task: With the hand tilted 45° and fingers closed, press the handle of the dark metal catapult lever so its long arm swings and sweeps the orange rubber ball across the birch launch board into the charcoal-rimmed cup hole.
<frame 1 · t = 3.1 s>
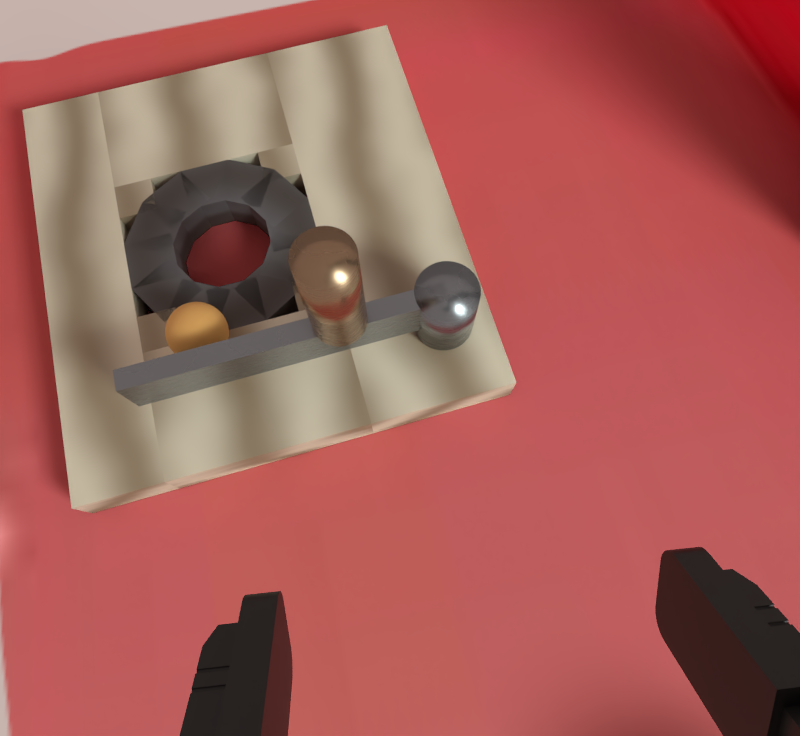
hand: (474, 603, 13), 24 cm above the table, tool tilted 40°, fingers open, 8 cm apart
catapult lever: (297, 320, 33), point 8 cm above the table, hinge at 0.0°
launch board: (258, 254, 43), on the table
ball: (197, 332, 37), point 4 cm above the table, touching launch board
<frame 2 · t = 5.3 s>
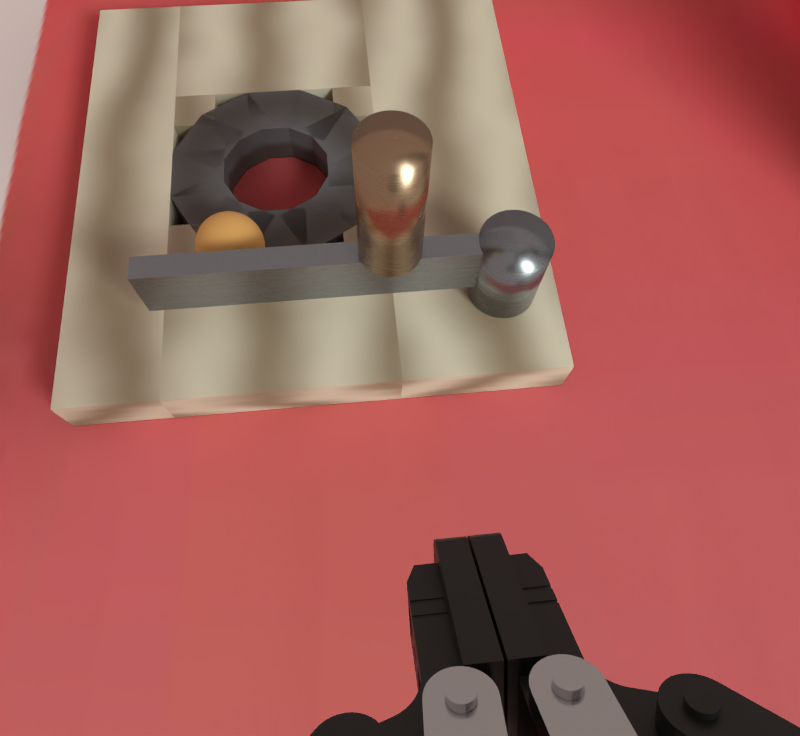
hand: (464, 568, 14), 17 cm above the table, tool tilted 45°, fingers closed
catapult lever: (343, 236, 29), point 8 cm above the table, hinge at 0.0°
launch board: (311, 193, 40), on the table
ball: (230, 245, 33), point 4 cm above the table, touching launch board
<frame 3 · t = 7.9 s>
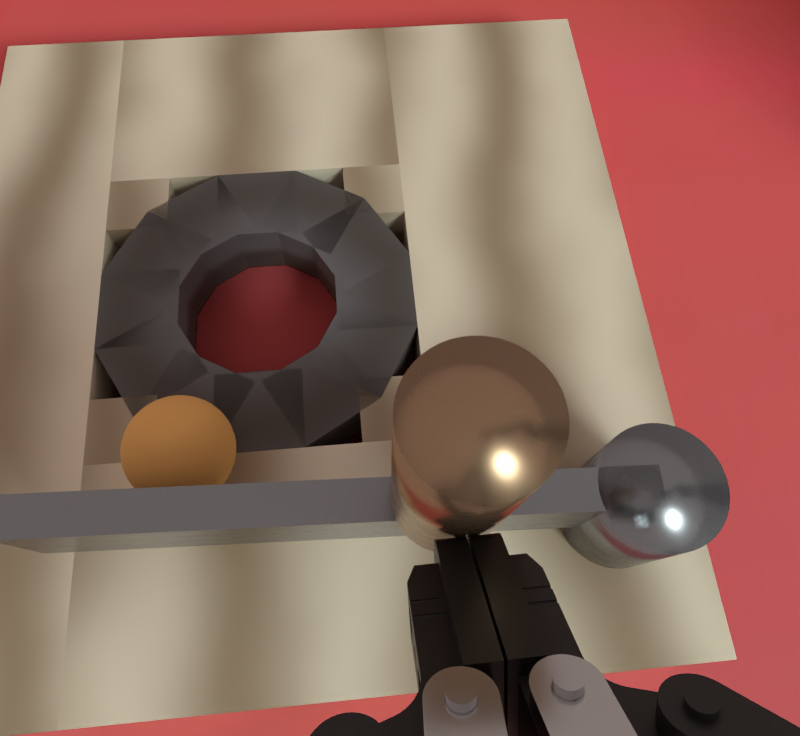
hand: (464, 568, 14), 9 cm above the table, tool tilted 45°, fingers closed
catapult lever: (366, 489, 16), point 8 cm above the table, hinge at 2.4°, touching gripper
launch board: (311, 324, 27), on the table
ball: (179, 449, 20), point 4 cm above the table, tilted 7°, touching launch board
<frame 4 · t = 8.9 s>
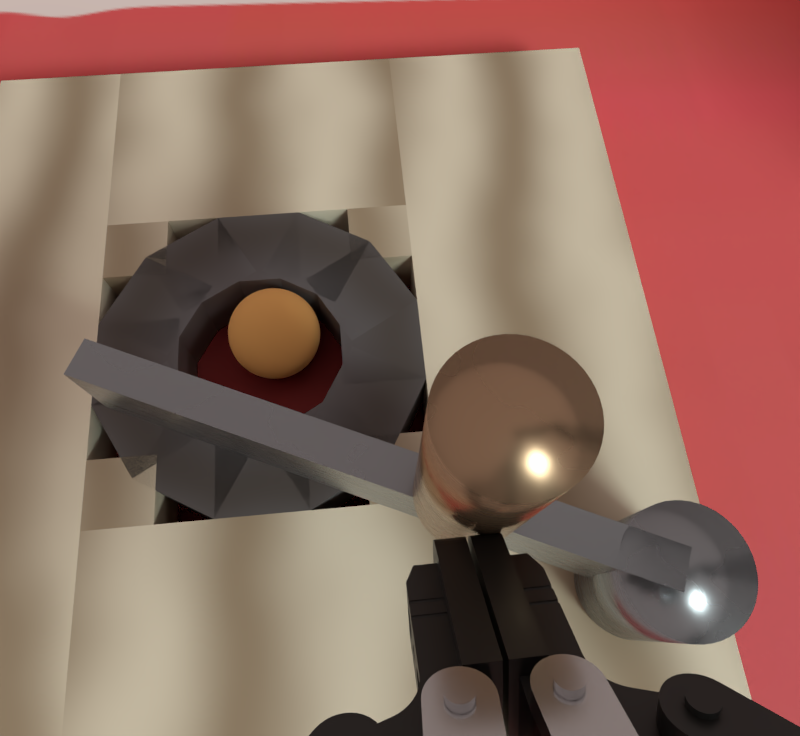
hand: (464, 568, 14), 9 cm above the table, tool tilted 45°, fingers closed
catapult lever: (395, 456, 16), point 8 cm above the table, hinge at 24.6°, touching gripper
launch board: (316, 371, 26), on the table
ball: (274, 333, 25), point 2 cm above the table, tilted 55°
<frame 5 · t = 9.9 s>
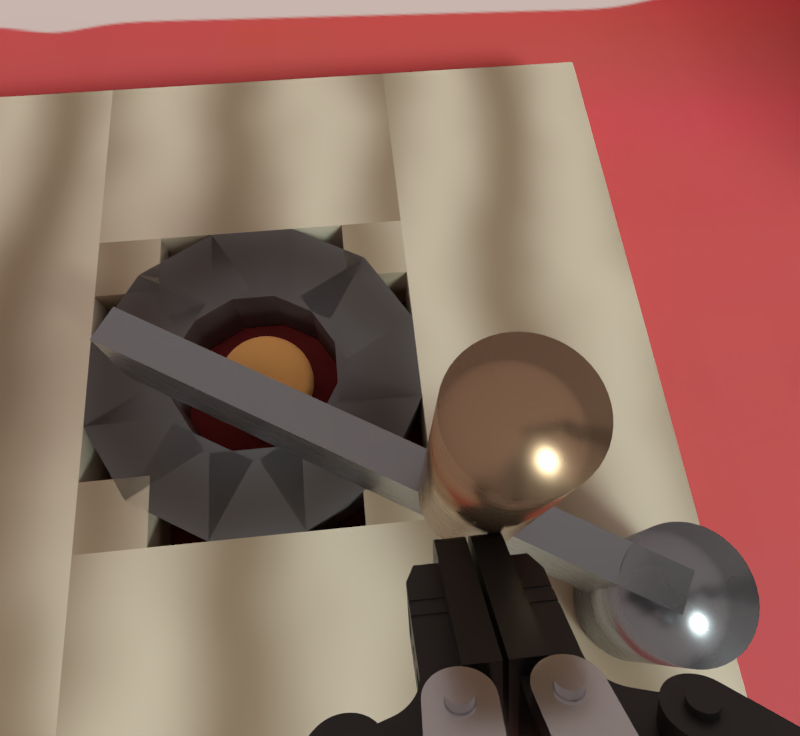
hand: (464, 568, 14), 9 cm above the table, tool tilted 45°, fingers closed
catapult lever: (404, 448, 16), point 8 cm above the table, hinge at 30.8°, touching gripper
launch board: (311, 389, 26), on the table
ball: (267, 382, 24), point 2 cm above the table, tilted 83°
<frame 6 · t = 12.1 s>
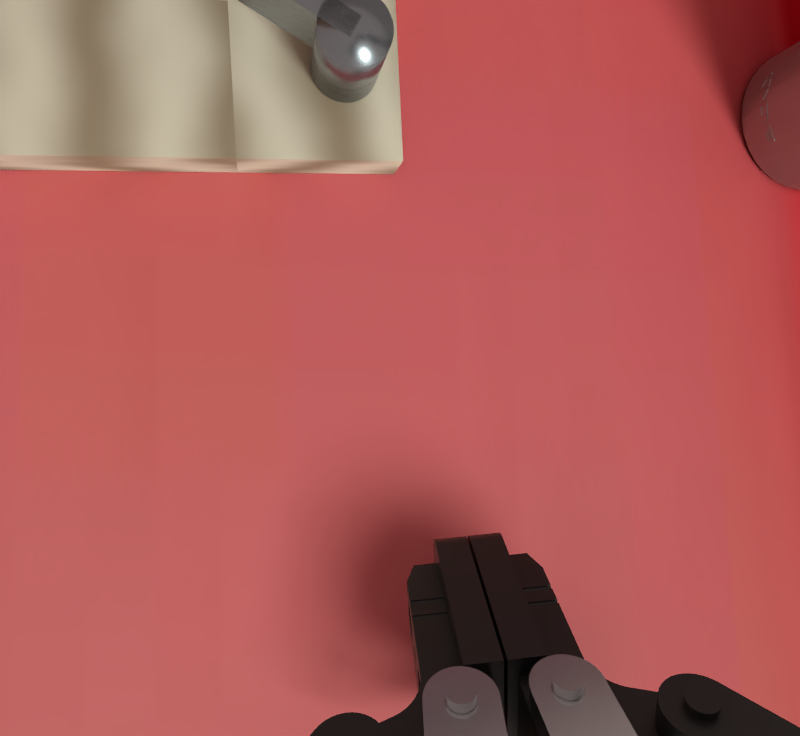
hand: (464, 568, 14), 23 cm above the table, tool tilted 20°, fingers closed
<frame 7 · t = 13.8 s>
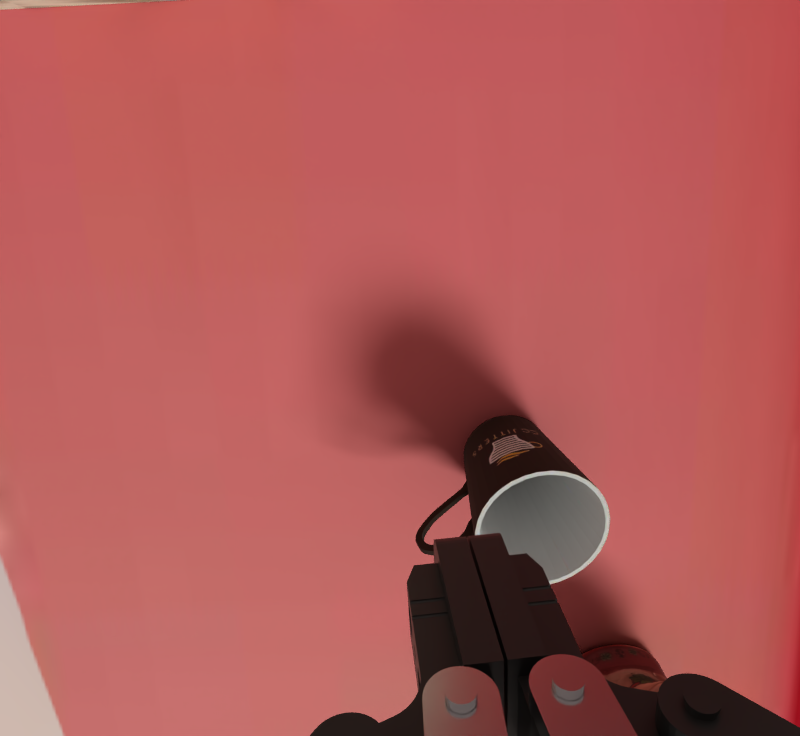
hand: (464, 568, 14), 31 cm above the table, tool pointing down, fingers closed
decorative planter: (603, 692, 60), on the table
coffee mug: (484, 450, 49), on the table
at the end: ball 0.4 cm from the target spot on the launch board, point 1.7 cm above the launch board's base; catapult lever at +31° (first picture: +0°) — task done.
